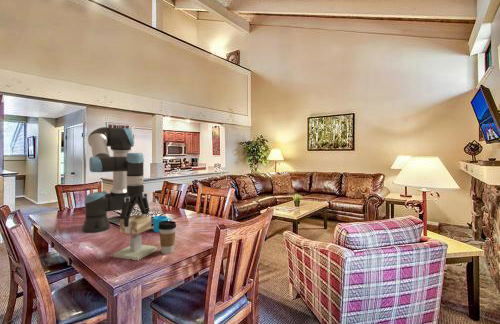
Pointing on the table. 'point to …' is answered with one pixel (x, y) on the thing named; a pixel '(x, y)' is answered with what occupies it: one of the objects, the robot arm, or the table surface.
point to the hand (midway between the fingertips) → (135, 229)
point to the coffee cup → (167, 236)
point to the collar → (137, 224)
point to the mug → (156, 222)
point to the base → (135, 254)
